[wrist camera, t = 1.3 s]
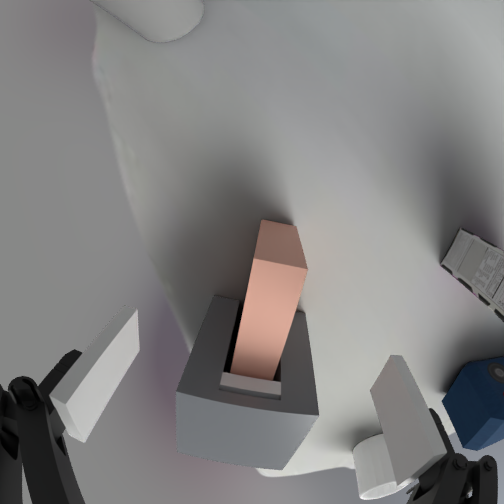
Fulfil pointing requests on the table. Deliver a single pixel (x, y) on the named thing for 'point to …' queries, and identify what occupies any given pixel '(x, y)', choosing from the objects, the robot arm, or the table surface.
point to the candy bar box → (478, 268)
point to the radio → (478, 403)
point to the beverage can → (156, 16)
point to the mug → (374, 468)
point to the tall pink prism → (269, 300)
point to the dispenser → (244, 397)
